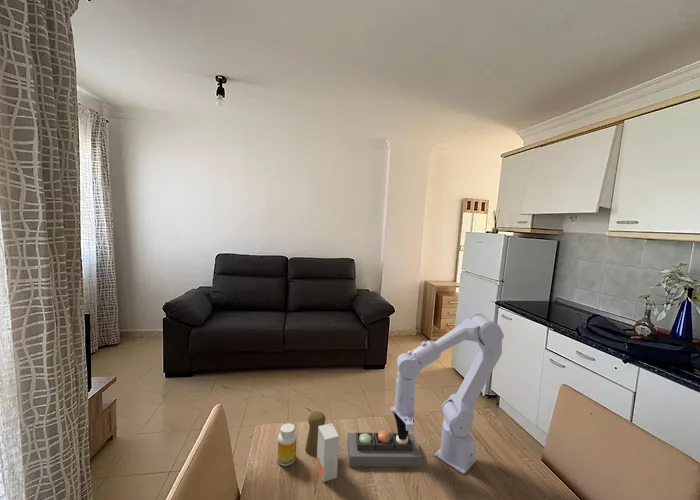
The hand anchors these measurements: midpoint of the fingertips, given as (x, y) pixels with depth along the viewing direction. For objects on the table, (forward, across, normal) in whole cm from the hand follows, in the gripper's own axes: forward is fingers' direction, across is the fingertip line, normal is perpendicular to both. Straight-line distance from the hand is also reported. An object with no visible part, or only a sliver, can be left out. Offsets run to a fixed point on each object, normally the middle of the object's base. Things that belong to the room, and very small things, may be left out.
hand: (402, 438), depth 91 cm
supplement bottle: (+5, +2, -34) cm, 35 cm away
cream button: (+1, 0, 0) cm, 1 cm away
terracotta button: (+1, 0, -6) cm, 6 cm away
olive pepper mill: (+5, -2, -26) cm, 27 cm away
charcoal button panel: (+5, 0, -6) cm, 8 cm away
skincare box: (+5, +7, -22) cm, 24 cm away
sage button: (+1, 0, -11) cm, 11 cm away
